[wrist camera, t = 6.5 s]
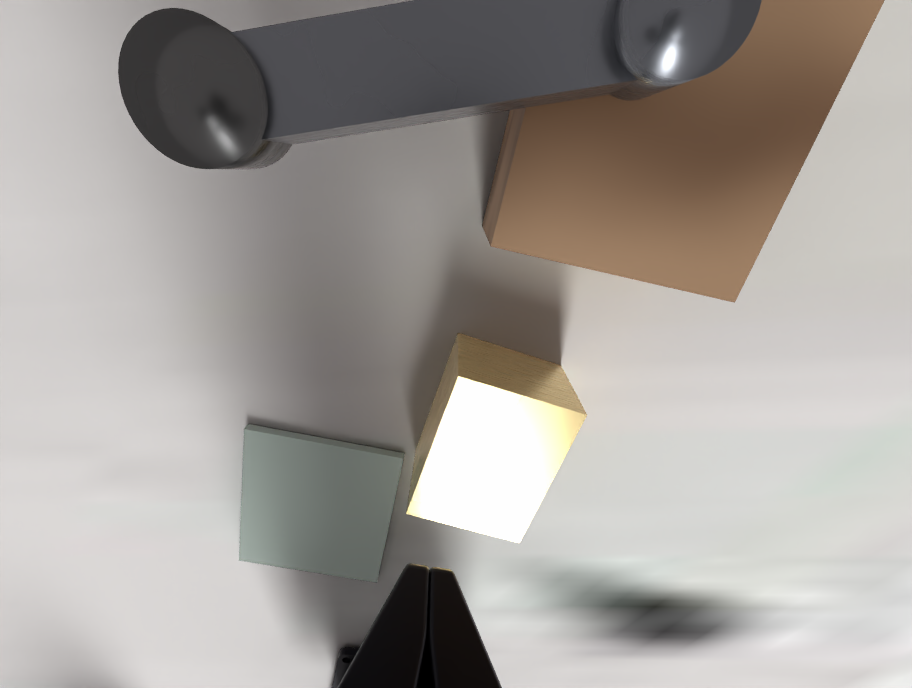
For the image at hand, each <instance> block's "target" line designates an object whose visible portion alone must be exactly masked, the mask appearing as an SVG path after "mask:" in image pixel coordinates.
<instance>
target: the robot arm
mask: <svg viewBox="0 0 912 688" xmlns="http://www.w3.org/2000/svg"><path fill="white" fill-rule="evenodd" d="M332 688H502V687H501V685H500V682H499V680H498V677H497V675H496V673H495V670H494V668H493V665H492V663H491V661H490V658H489V656H488V653H487V651H486V649H485V646H484V644H483V641H482V639H481V637H480V634H479V632H478V629H477V627H476V625H475V622H474V620H473V617H472V615H471V613H470V610H469V608H468V605H467V603H466V601H465V598H464V596H463V593H462V591H461V589H460V586H459V584H458V581H457V579H456V577H455V574H454V573H453V571H452V570H450V569H444V568H437V567H432V568H431V569H430V570H429V568H428V567H427V566H424V565H418V564H411V563H410V564H407V565H406V566H405V568H404V570H403V572H402V573H401V575H400V577H399V579H398V581H397V582H396V584H395V586H394V588H393V589H392V591H391V593H390V595H389V597H388V598H387V600H386V602H385V604H384V605H383V607H382V609H381V611H380V613H379V614H378V616H377V618H376V620H375V621H374V623H373V625H372V627H371V629H370V630H369V632H368V634H367V636H366V637H365V639H364V641H363V643H362V645H361V646H360V648H359V649H358V648H351V647H345V648H342V649H341V650H340V652H339V656H338V660H337V665H336V671H335V676H334V682H333V687H332Z"/></svg>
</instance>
